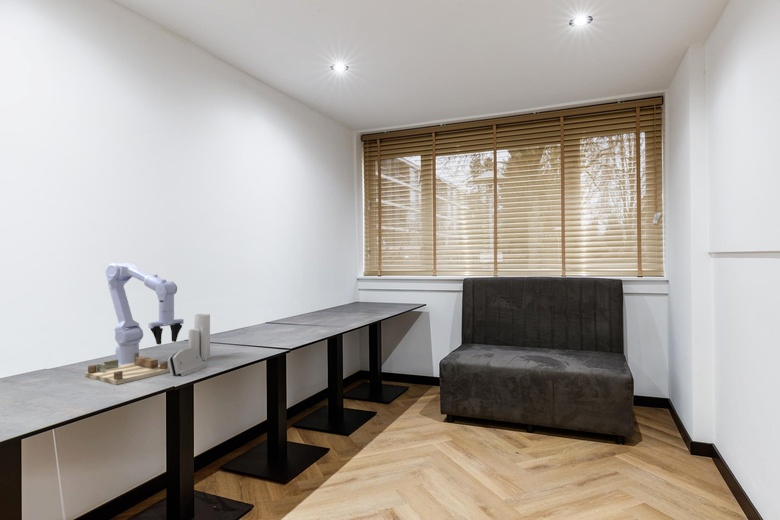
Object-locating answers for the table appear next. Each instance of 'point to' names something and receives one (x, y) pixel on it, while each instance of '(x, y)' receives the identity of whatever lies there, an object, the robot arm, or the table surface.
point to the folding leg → (146, 362)
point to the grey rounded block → (185, 362)
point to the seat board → (123, 371)
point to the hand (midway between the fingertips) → (166, 342)
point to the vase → (201, 335)
